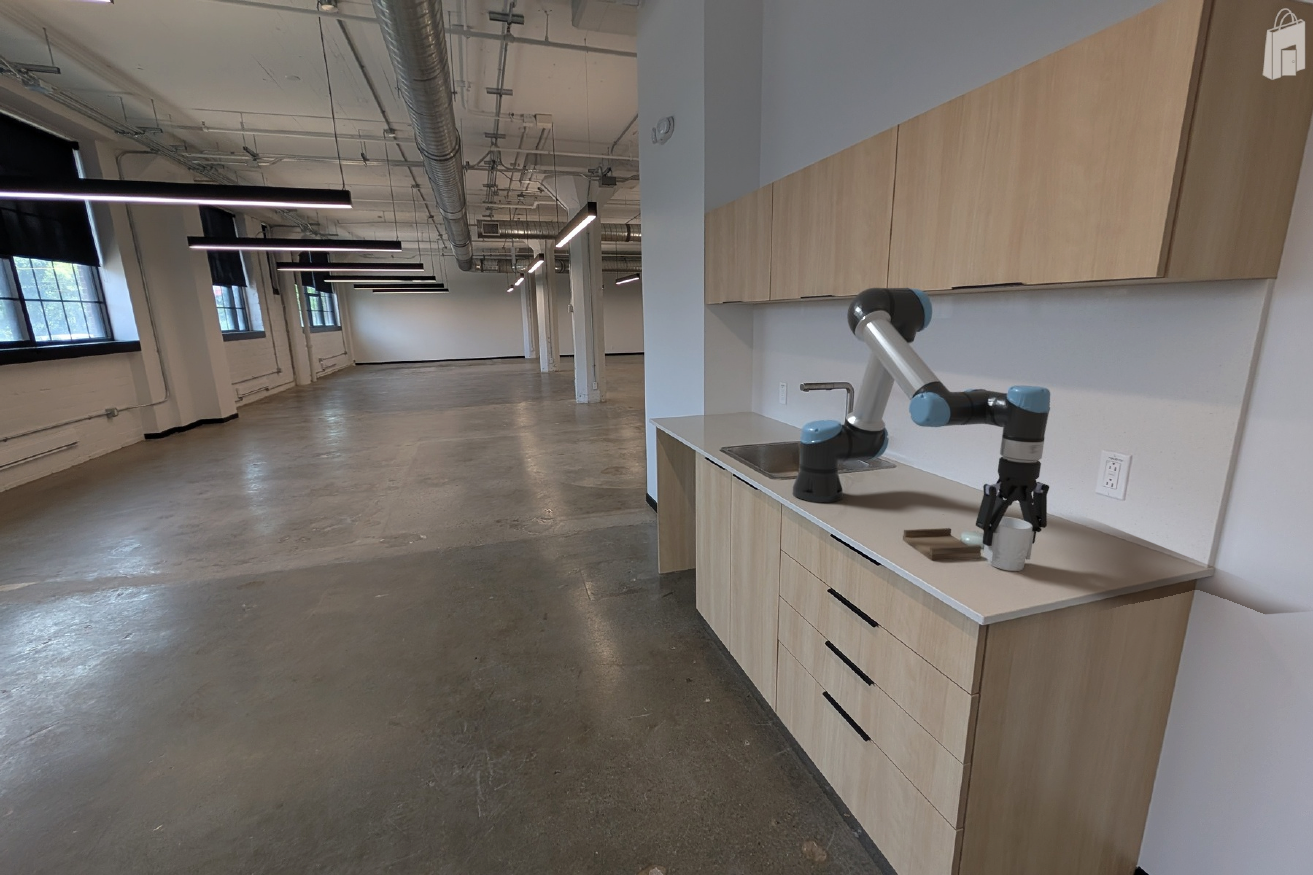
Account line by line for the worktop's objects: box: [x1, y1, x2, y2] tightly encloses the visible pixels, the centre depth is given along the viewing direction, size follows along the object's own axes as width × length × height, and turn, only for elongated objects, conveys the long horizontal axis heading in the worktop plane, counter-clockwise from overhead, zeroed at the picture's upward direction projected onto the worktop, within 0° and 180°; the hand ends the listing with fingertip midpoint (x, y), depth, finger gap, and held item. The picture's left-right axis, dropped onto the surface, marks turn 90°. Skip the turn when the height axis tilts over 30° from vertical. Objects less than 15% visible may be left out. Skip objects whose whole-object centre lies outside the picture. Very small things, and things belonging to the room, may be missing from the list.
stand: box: [902, 527, 982, 561], centre depth 129 cm, size 12×12×3 cm
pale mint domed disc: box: [960, 530, 985, 550], centre depth 132 cm, size 7×7×2 cm
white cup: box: [987, 516, 1033, 572], centre depth 120 cm, size 8×8×10 cm
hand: (1006, 557), depth 120 cm, fingers closed on white cup, 8 cm apart
